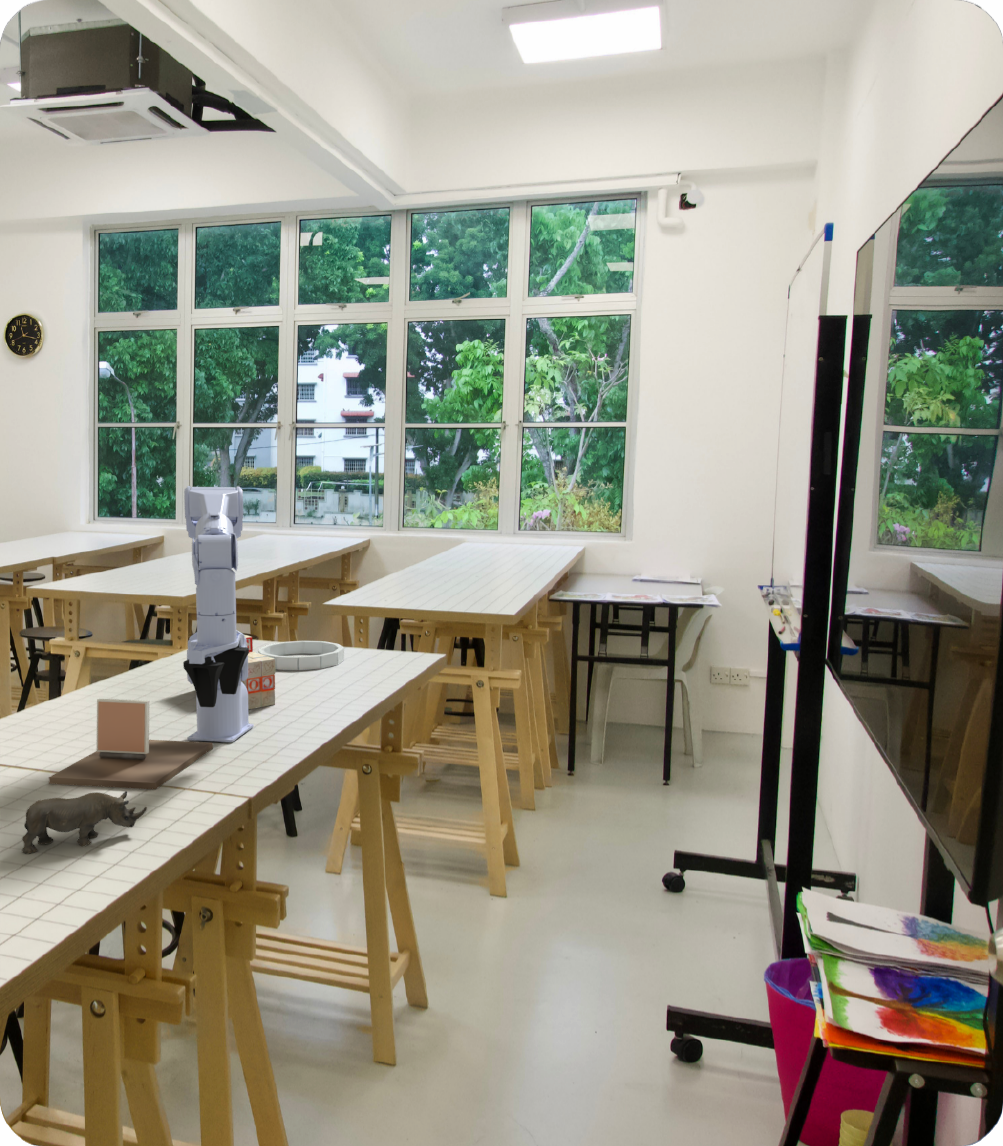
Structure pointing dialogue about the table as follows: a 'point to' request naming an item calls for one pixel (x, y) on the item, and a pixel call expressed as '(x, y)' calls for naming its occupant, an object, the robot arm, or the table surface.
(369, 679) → the table surface
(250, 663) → the stack of blocks
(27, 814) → the rhino figurine
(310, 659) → the shell dish rim
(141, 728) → the tile
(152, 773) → the board
